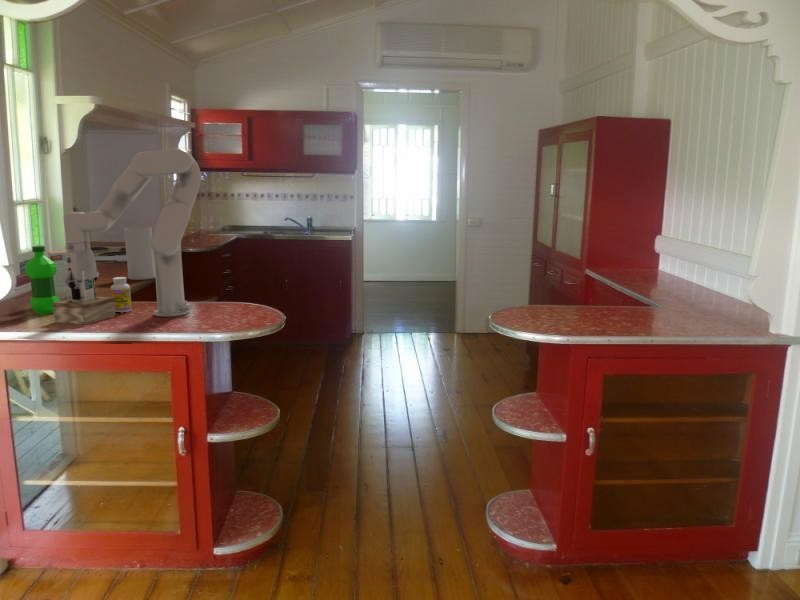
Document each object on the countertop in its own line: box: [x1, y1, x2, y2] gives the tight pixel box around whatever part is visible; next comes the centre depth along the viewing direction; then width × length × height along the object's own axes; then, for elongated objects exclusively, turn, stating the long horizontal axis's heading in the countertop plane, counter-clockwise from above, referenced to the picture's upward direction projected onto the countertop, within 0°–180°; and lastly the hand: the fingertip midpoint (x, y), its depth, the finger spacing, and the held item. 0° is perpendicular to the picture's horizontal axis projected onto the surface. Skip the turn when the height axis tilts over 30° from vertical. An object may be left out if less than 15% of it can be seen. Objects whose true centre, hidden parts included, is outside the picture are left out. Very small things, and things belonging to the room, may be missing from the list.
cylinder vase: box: [123, 226, 155, 281], centre depth 339 cm, size 12×12×25 cm
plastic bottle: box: [24, 245, 59, 315], centre depth 256 cm, size 10×10×25 cm
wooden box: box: [53, 296, 116, 325], centre depth 245 cm, size 14×14×7 cm
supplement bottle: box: [110, 276, 132, 313], centre depth 257 cm, size 7×7×13 cm
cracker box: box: [47, 250, 72, 301], centre depth 279 cm, size 14×6×21 cm, turn 126°
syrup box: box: [70, 271, 97, 303], centre depth 244 cm, size 6×6×14 cm
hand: (84, 297), depth 244 cm, fingers closed on syrup box, 6 cm apart
